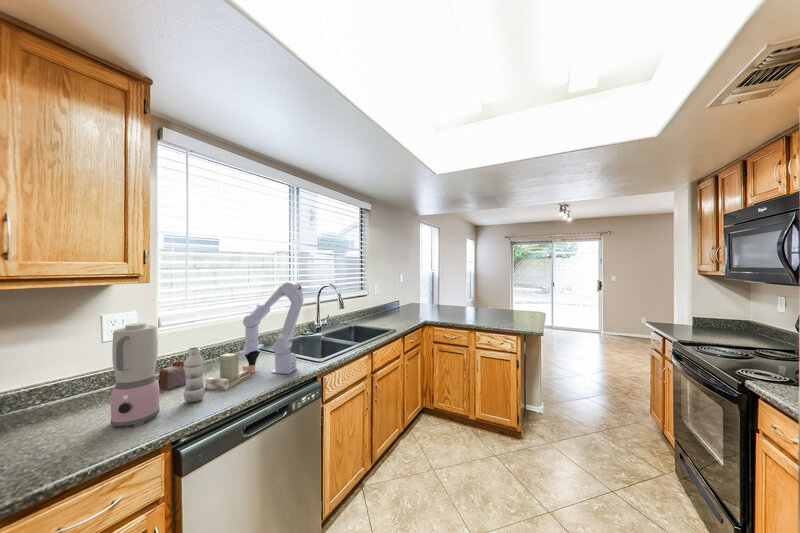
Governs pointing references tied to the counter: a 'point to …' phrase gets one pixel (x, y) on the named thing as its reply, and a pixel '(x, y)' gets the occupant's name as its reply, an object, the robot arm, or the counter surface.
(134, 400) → the blender
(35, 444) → the counter surface
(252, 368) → the peach and white mallet
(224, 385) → the channel
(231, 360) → the skincare box
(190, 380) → the plastic bottle
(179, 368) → the food item
